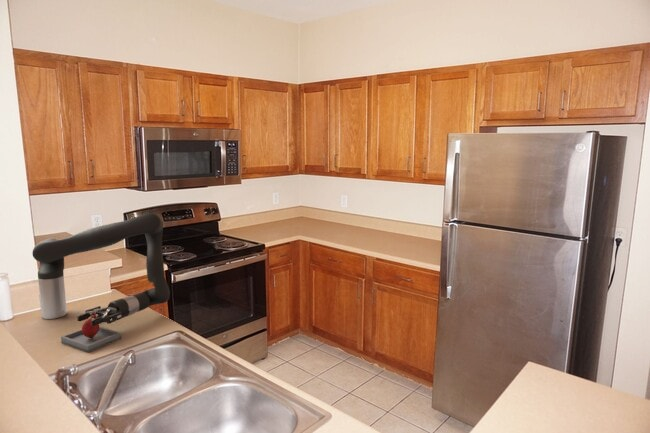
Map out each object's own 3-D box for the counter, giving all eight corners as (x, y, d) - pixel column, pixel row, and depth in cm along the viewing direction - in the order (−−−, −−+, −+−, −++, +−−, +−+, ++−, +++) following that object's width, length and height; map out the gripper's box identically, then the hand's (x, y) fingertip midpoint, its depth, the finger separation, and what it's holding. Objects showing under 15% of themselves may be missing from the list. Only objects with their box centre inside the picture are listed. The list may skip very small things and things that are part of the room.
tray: (61, 343, 161) (60, 336, 160) (94, 330, 172) (94, 324, 172) (88, 352, 153) (87, 346, 153) (121, 339, 164) (120, 332, 164)
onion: (92, 341, 159) (90, 320, 158) (78, 340, 160) (76, 320, 159) (103, 335, 165) (101, 315, 164) (90, 334, 166) (88, 314, 165)
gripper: (111, 295, 177) (72, 307, 163) (135, 301, 170) (96, 315, 156) (113, 313, 178) (73, 327, 164) (136, 319, 171) (97, 334, 157)
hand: (84, 321), depth 160 cm, fingers open, 8 cm apart
